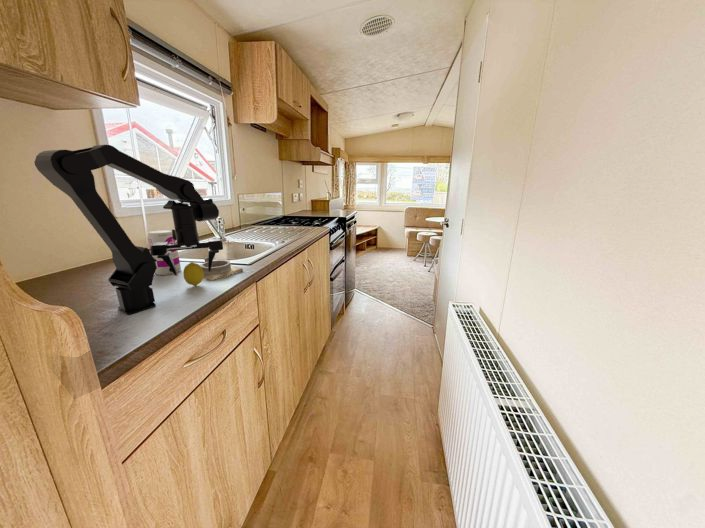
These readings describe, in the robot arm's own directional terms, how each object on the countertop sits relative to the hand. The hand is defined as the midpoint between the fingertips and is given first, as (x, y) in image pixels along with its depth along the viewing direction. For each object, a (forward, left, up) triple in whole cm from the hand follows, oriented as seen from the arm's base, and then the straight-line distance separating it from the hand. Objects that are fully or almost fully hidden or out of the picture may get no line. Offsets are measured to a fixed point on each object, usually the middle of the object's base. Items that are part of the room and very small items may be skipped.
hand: (193, 273), depth 87 cm
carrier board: (+12, +8, -4) cm, 15 cm away
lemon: (0, 0, -5) cm, 5 cm away
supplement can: (+2, +22, -5) cm, 23 cm away
